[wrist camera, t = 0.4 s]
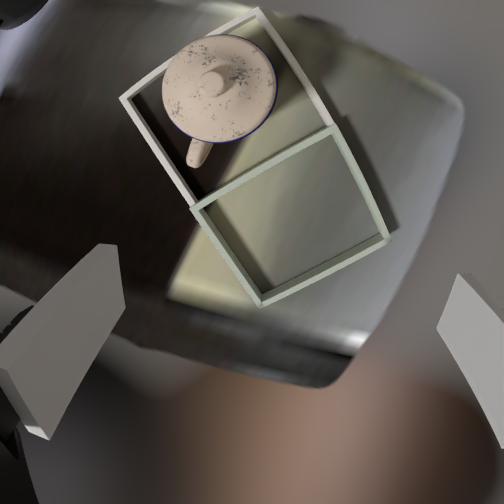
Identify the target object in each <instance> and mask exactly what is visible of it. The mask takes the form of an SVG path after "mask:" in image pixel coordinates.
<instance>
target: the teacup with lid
mask: <svg viewBox="0 0 504 504" xmlns="http://www.w3.org/2000/svg"><path fill="white" fill-rule="evenodd" d="M277 91H278V82H277V76H276V72H275V69H274V66H273V64H272V62H271V61H270V59H269V58H268V56H267V55H266V54H265V52H264V51H263V50H262V49H261V48H259V47H258V46H257V45H255V44H254V43H252V42H251V41H249V40H247V39H244V38H242V37H238V36H234V35H227V34H217V35H210V36H206V37H202V38H200V39H197V40H195V41H193V42H191V43H190V44H188V45H186V46H185V47H184V48H182V49H181V50H180V51H179V52H178V53H177V54H176V55H175V57H174V58H173V59H172V61H171V62H170V64H169V65H168V68H167V70H166V72H165V75H164V79H163V84H162V98H163V103H164V107H165V109H166V112H167V114H168V116H169V117H170V119H171V121H172V122H173V123H174V124H175V125H176V126H177V127H178V128H179V129H180V130H181V131H182V132H183V133H185V134H186V135H188V136H190V137H192V138H193V139H192V142H191V144H190V147H189V150H188V154H187V159H186V161H187V164H188V165H189V166H191V167H194V168H198V167H199V166H201V164H202V163H203V162H204V160H205V159H206V157H207V155H208V153H209V151H210V149H211V147H212V144H213V143H227V142H232V141H236V140H239V139H241V138H244V137H246V136H248V135H249V134H251V133H252V132H254V131H255V130H257V129H258V128H259V127H260V126H261V125H262V124H263V123H264V122H265V120H266V119H267V118H268V116H269V115H270V113H271V111H272V109H273V107H274V105H275V101H276V98H277Z"/></svg>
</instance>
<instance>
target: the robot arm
mask: <svg viewBox="0 0 504 504" xmlns="http://www.w3.org/2000/svg"><path fill="white" fill-rule="evenodd" d="M46 2H47V0H0V29H4V30H8V29H13V28H15V27H18V26H20V25H21V24H23V23H25V22H26V21H27V20H29V19H30V18H31V17H32V16H33V15H35V14H36V13H37V12H38V11H39V10H40V9H41V7H42V6H43V5H44V4H45V3H46ZM124 310H125V303H124V297H123V290H122V283H121V276H120V268H119V260H118V251H117V245H108V244H98V245H97V246H96V247H95V248H94V249H93V250H92V251H91V252H89V253H88V254H87V255H86V256H85V257H84V258H83V259H82V260H81V261H80V262H79V263H78V264H77V265H75V266H74V267H73V268H72V269H71V270H70V271H69V272H68V273H67V274H66V275H65V276H64V277H63V278H62V279H61V280H60V281H59V282H58V283H57V284H56V285H55V286H54V287H53V288H52V289H51V290H50V291H49V292H48V293H47V294H46V295H45V296H44V297H43V298H42V299H41V300H40V301H39V302H38V303H37V304H36V305H35V306H30V307H29V308H27V309H25V310H24V311H22V312H20V313H19V314H18V315H17V316H16V317H15V318H14V319H13V320H12V321H11V322H10V325H7V327H6V328H5V329H4V330H3V331H2V334H1V333H0V504H39V502H38V499H37V496H36V494H35V490H34V487H33V484H32V481H31V477H30V473H29V470H28V466H27V462H26V458H25V455H24V450H23V446H22V441H21V437H20V433H19V431H18V429H17V427H16V426H17V424H18V422H19V421H20V419H21V421H22V422H23V424H24V425H25V427H26V428H27V429H28V431H29V432H31V433H33V434H36V435H38V436H40V437H42V438H45V439H47V440H50V438H51V436H52V434H53V432H54V431H55V429H56V427H57V425H58V423H59V421H60V419H61V417H62V415H63V413H64V412H65V410H66V408H67V406H68V404H69V402H70V400H71V399H72V397H73V395H74V393H75V391H76V389H77V388H78V386H79V384H80V382H81V381H82V379H83V377H84V375H85V374H86V372H87V370H88V369H89V367H90V365H91V363H92V362H93V360H94V358H95V357H96V355H97V353H98V352H99V350H100V348H101V347H102V345H103V343H104V342H105V340H106V338H107V337H108V335H109V333H110V332H111V330H112V329H113V327H114V325H115V324H116V322H117V321H118V319H119V317H120V316H121V314H122V313H123V311H124ZM436 329H437V331H438V332H439V334H440V335H441V337H442V339H443V340H444V342H445V344H446V345H447V347H448V349H449V350H450V352H451V354H452V355H453V357H454V358H455V360H456V362H457V364H458V365H459V367H460V369H461V371H462V372H463V374H464V376H465V377H466V379H467V381H468V383H469V385H470V386H471V388H472V390H473V392H474V394H475V396H476V397H477V399H478V401H479V403H480V405H481V407H482V409H483V411H484V413H485V414H486V417H487V419H488V420H489V423H490V425H491V427H492V429H493V431H494V433H495V435H496V437H497V439H498V441H499V443H500V446H501V448H502V449H503V448H504V308H503V306H502V305H501V304H500V303H499V302H498V301H497V300H496V299H495V298H494V297H493V296H492V295H491V294H490V293H489V292H488V291H487V289H486V288H485V287H484V286H483V285H482V284H481V283H480V282H479V281H478V280H477V279H476V278H475V277H474V276H473V275H472V274H465V273H458V274H457V277H456V280H455V283H454V285H453V288H452V291H451V294H450V296H449V299H448V301H447V304H446V306H445V309H444V311H443V314H442V316H441V319H440V321H439V323H438V326H437V328H436Z"/></svg>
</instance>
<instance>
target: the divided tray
mask: <svg viewBox="0 0 504 504" xmlns="http://www.w3.org/2000/svg"><path fill="white" fill-rule="evenodd" d="M255 18H257V20H258V21H259V22H260V24H261V25H262V26H263V28H264V29H265V31H266V32H267V33H268V35H269V36H270V38H271V39H272V40H273V42H274V43H275V45H276V46H277V48H278V49H279V51H280V52H281V53H282V55H283V56H284V58H285V59H286V61H287V62H288V64H289V65H290V67H291V68H292V70H293V72H294V73H295V75H296V76H297V78H298V79H299V81H300V82H301V84H302V86H303V87H304V89H305V90H306V92H307V94H308V95H309V97H310V99H311V100H312V102H313V104H314V105H315V107H316V109H317V110H318V112H319V114H320V116H321V117H322V119H323V121H324V122H325V124H326V127H324V128H322V129H320V130H319V131H317V132H315V133H313V134H311V135H309V136H307V137H306V138H304V139H302V140H300V141H298V142H296V143H295V144H293V145H291V146H289V147H287V148H286V149H284V150H282V151H280V152H278V153H277V154H275V155H273V156H271V157H270V158H268V159H266V160H264V161H263V162H261V163H259V164H258V165H256V166H254V167H252V168H251V169H249V170H247V171H246V172H244V173H242V174H241V175H239V176H237V177H236V178H234V179H232V180H231V181H229V182H227V183H226V184H224V185H222V186H221V187H219V188H217V189H216V190H214V191H213V192H211V193H209V194H208V195H206V196H205V197H203V198H201V199H200V200H197V198H196V197H195V195H194V194H193V192H192V191H191V189H190V188H189V186H188V185H187V183H186V182H185V180H184V179H183V177H182V176H181V174H180V173H179V171H178V170H177V168H176V167H175V165H174V164H173V162H172V161H171V159H170V158H169V156H168V155H167V153H166V152H165V150H164V149H163V147H162V146H161V144H160V143H159V141H158V140H157V138H156V137H155V135H154V134H153V132H152V131H151V129H150V128H149V126H148V125H147V123H146V121H145V120H144V118H143V117H142V115H141V114H140V112H139V111H138V109H137V108H136V106H135V105H134V103H133V102H132V100H131V99H132V98H133V97H134V96H135V95H137V94H138V93H139V92H140V91H142V90H143V89H144V88H146V87H147V86H148V85H150V84H151V83H152V82H154V81H155V80H156V79H158V78H159V77H160V76H162V75H163V74H165V72H166V70H167V68H168V65H169V64H170V62H171V61H172V59H173V58H174V57H175V56H173V57H172V58H170V59H169V60H167V61H166V62H164V63H163V64H162V65H160V66H159V67H158V68H156V69H155V70H153V71H152V72H151V73H149V74H148V75H147V76H145V77H144V78H143V79H141V80H140V81H139V82H138V83H136V84H135V85H134V86H133V87H131V88H130V89H129V90H128V91H126V92H125V93H124V94H123V95H121V96H120V97H119V99H120V101H121V103H122V104H123V106H124V107H125V109H126V110H127V112H128V113H129V115H130V116H131V118H132V120H133V121H134V123H135V124H136V126H137V127H138V129H139V130H140V132H141V133H142V135H143V136H144V138H145V139H146V141H147V143H148V144H149V146H150V147H151V149H152V150H153V152H154V153H155V155H156V156H157V158H158V159H159V161H160V162H161V164H162V165H163V167H164V168H165V170H166V171H167V173H168V174H169V176H170V177H171V179H172V180H173V182H174V183H175V185H176V186H177V188H178V189H179V191H180V192H181V194H182V195H183V197H184V198H185V199H186V201H187V202H188V204H189V205H190V208H189V209H190V210H191V212H192V213H193V215H194V216H195V218H196V219H197V221H198V222H199V223H200V225H201V226H202V228H203V229H204V231H205V232H206V234H207V235H208V237H209V238H210V239H211V241H212V242H213V244H214V245H215V247H216V248H217V250H218V251H219V252H220V254H221V255H222V257H223V258H224V260H225V261H226V262H227V264H228V265H229V267H230V268H231V270H232V271H233V272H234V274H235V275H236V277H237V278H238V280H239V281H240V282H241V284H242V285H243V287H244V288H245V289H246V291H247V292H248V294H249V295H250V296H251V298H252V299H253V301H254V302H255V303H256V305H257V306H258V308H259V309H261V308H263V307H265V306H267V305H269V304H271V303H273V302H275V301H277V300H279V299H282V298H284V297H286V296H288V295H290V294H292V293H294V292H296V291H298V290H300V289H302V288H304V287H306V286H308V285H310V284H312V283H314V282H316V281H318V280H320V279H322V278H324V277H326V276H328V275H329V274H331V273H333V272H335V271H337V270H339V269H341V268H343V267H345V266H347V265H349V264H351V263H353V262H354V261H356V260H358V259H360V258H362V257H364V256H366V255H368V254H369V253H371V252H373V251H375V250H377V249H379V248H381V247H382V246H384V245H386V244H388V243H390V242H391V241H392V240H391V237H390V235H389V232H388V230H387V228H386V225H385V223H384V220H383V218H382V216H381V214H380V211H379V209H378V207H377V205H376V202H375V200H374V198H373V196H372V194H371V191H370V189H369V187H368V185H367V183H366V181H365V179H364V177H363V175H362V173H361V171H360V169H359V167H358V165H357V163H356V161H355V159H354V157H353V155H352V153H351V151H350V149H349V147H348V145H347V143H346V141H345V139H344V138H343V136H342V134H341V132H340V130H339V128H338V127H337V125H336V124H335V123H334V121H333V120H332V118H331V116H330V114H329V113H328V111H327V109H326V107H325V106H324V104H323V102H322V101H321V99H320V97H319V96H318V94H317V92H316V91H315V89H314V87H313V86H312V84H311V83H310V81H309V79H308V78H307V76H306V75H305V73H304V71H303V70H302V68H301V67H300V65H299V64H298V62H297V61H296V59H295V58H294V56H293V55H292V53H291V52H290V50H289V49H288V47H287V46H286V44H285V43H284V41H283V40H282V39H281V37H280V36H279V34H278V33H277V32H276V30H275V29H274V27H273V26H272V25H271V23H270V22H269V21H268V19H267V18H266V17H265V15H264V14H263V13H262V11H261V10H260V9H259V7H256V8H254V9H252V10H250V11H248V12H246V13H244V14H243V15H241V16H239V17H237V18H235V19H233V20H231V21H230V22H228V23H226V24H224V25H223V26H221V27H219V28H217V29H216V30H214V31H212V32H211V33H209V34H207V35H206V36H210V35H217V34H227V33H229V32H231V31H232V30H234V29H236V28H238V27H240V26H241V25H243V24H245V23H247V22H249V21H251V20H253V19H255ZM206 36H204V37H206ZM330 134H331V135H332V137H333V139H334V140H335V142H336V144H337V146H338V148H339V150H340V151H341V153H342V155H343V157H344V159H345V161H346V163H347V165H348V167H349V169H350V171H351V173H352V175H353V177H354V179H355V181H356V183H357V185H358V187H359V189H360V191H361V193H362V195H363V197H364V199H365V201H366V204H367V206H368V208H369V210H370V212H371V214H372V217H373V219H374V221H375V223H376V225H377V228H378V230H379V232H380V233H379V234H378V235H376V236H374V237H372V238H370V239H368V240H366V241H365V242H363V243H361V244H359V245H357V246H355V247H353V248H352V249H350V250H348V251H346V252H344V253H342V254H340V255H338V256H336V257H335V258H333V259H331V260H329V261H327V262H325V263H323V264H321V265H319V266H317V267H315V268H313V269H311V270H309V271H308V272H306V273H304V274H302V275H300V276H298V277H296V278H294V279H292V280H290V281H288V282H286V283H284V284H282V285H280V286H278V287H276V288H274V289H272V290H270V291H268V292H266V293H264V294H261V292H260V291H259V289H258V288H257V287H256V285H255V284H254V282H253V281H252V279H251V278H250V276H249V275H248V273H247V272H246V271H245V269H244V268H243V266H242V265H241V263H240V262H239V260H238V259H237V257H236V256H235V254H234V253H233V252H232V250H231V249H230V247H229V246H228V244H227V243H226V241H225V240H224V238H223V237H222V235H221V234H220V232H219V231H218V229H217V228H216V227H215V225H214V224H213V222H212V221H211V219H210V218H209V216H208V215H207V213H206V212H205V210H204V209H203V207H205V206H206V205H208V204H209V203H211V202H213V201H214V200H216V199H218V198H219V197H221V196H223V195H224V194H226V193H228V192H229V191H231V190H233V189H234V188H236V187H238V186H239V185H241V184H243V183H244V182H246V181H248V180H249V179H251V178H253V177H255V176H256V175H258V174H260V173H261V172H263V171H265V170H267V169H268V168H270V167H272V166H274V165H275V164H277V163H279V162H281V161H283V160H284V159H286V158H288V157H290V156H291V155H293V154H295V153H297V152H299V151H300V150H302V149H304V148H306V147H308V146H310V145H311V144H313V143H315V142H317V141H319V140H321V139H323V138H325V137H326V136H328V135H330Z"/></svg>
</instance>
